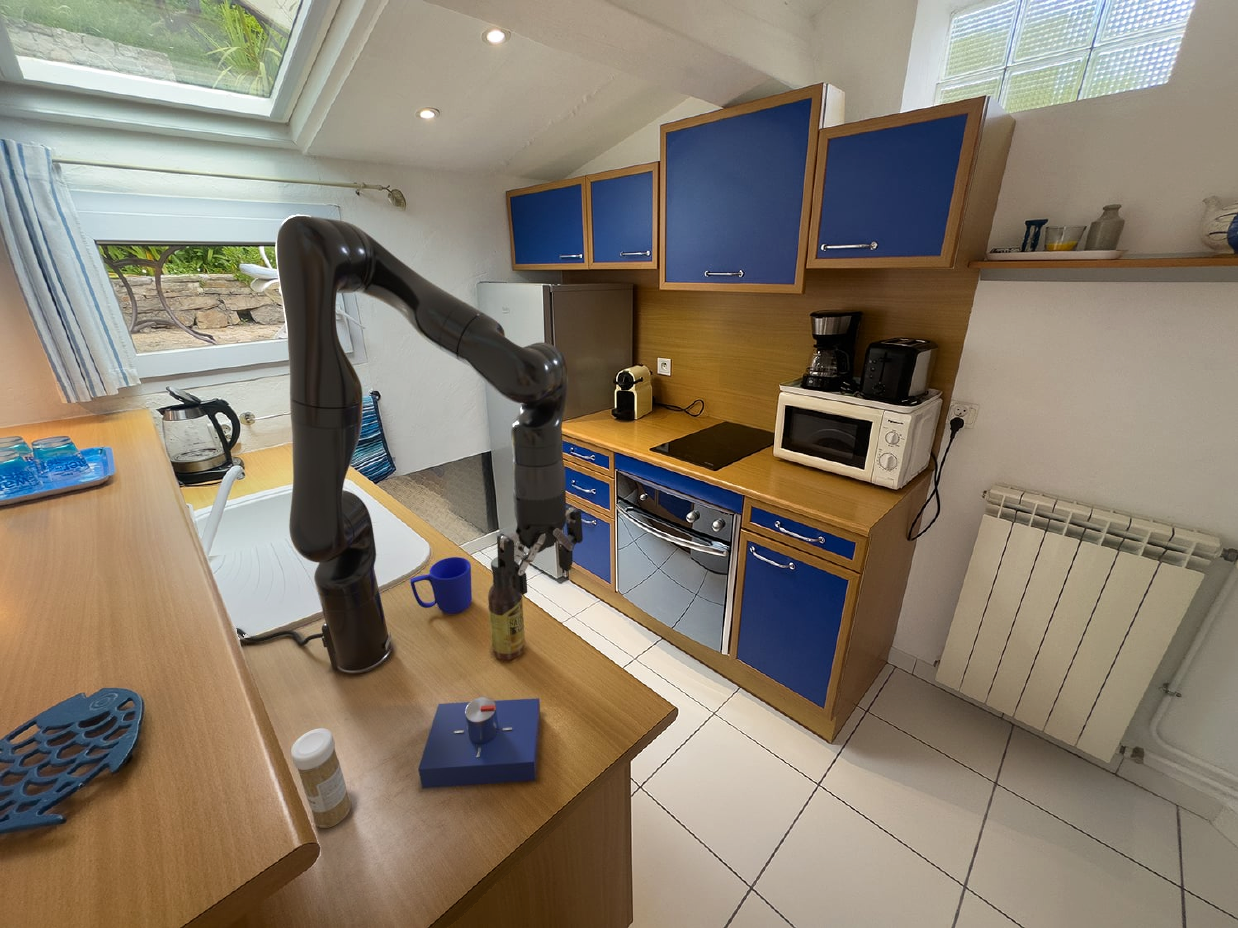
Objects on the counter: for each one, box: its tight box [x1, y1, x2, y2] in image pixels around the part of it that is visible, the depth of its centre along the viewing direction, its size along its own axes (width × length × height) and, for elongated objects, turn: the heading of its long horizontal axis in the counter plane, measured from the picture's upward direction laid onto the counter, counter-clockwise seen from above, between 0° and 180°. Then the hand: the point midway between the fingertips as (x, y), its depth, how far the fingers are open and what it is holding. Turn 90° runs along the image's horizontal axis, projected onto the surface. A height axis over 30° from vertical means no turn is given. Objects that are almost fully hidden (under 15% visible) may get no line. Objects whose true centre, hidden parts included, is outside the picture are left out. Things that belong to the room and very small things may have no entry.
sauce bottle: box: [487, 556, 526, 661], centre depth 91 cm, size 6×6×20 cm
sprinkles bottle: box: [290, 727, 352, 829], centre depth 64 cm, size 5×5×14 cm
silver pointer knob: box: [465, 696, 498, 744], centre depth 73 cm, size 4×4×5 cm
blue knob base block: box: [418, 697, 541, 789], centre depth 75 cm, size 16×11×4 cm
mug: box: [409, 556, 473, 616], centre depth 104 cm, size 8×12×10 cm
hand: (543, 579), depth 77 cm, fingers open, 8 cm apart
